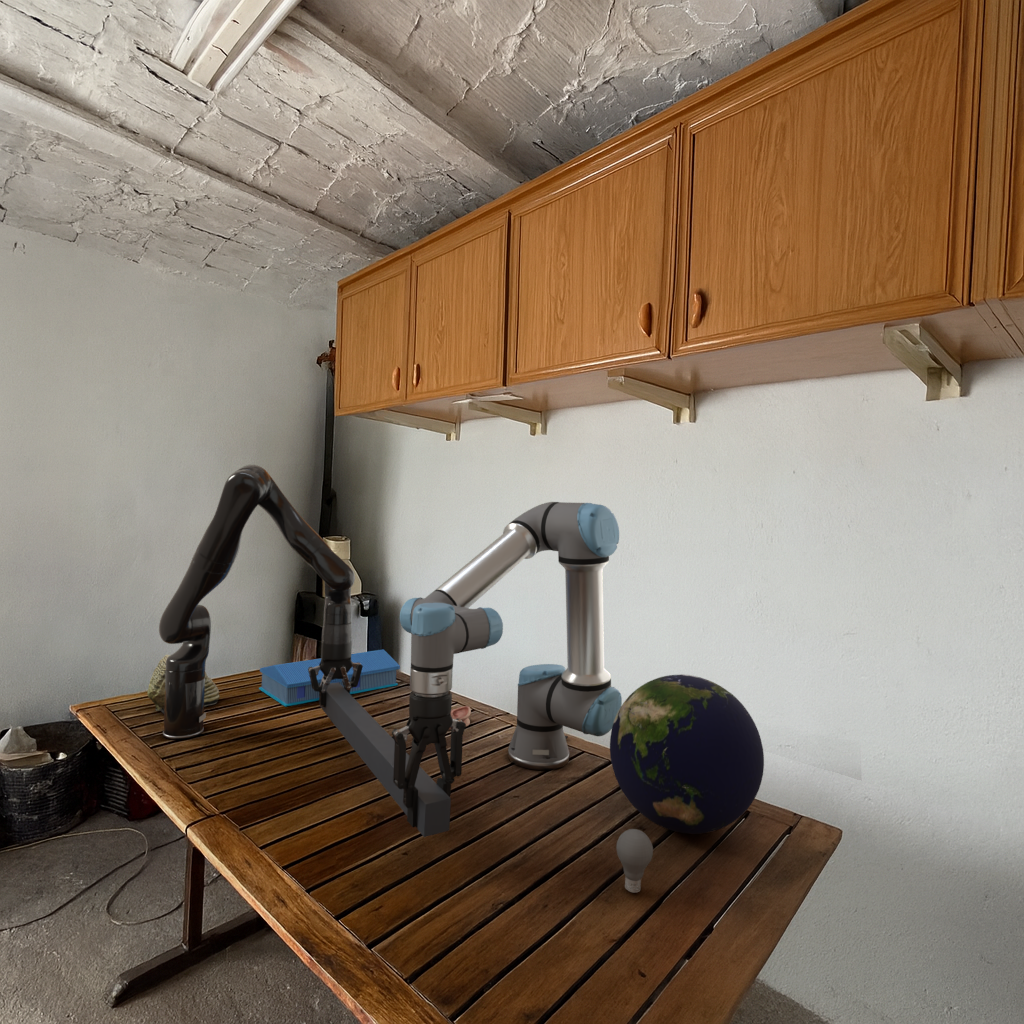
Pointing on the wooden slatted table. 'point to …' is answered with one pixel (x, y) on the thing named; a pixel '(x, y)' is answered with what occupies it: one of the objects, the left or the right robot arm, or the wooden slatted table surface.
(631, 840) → the light bulb
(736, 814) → the globe
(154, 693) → the fossil
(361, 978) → the wooden slatted table surface
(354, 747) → the bar
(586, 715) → the right robot arm
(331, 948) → the wooden slatted table surface
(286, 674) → the model building
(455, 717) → the anatomical model
